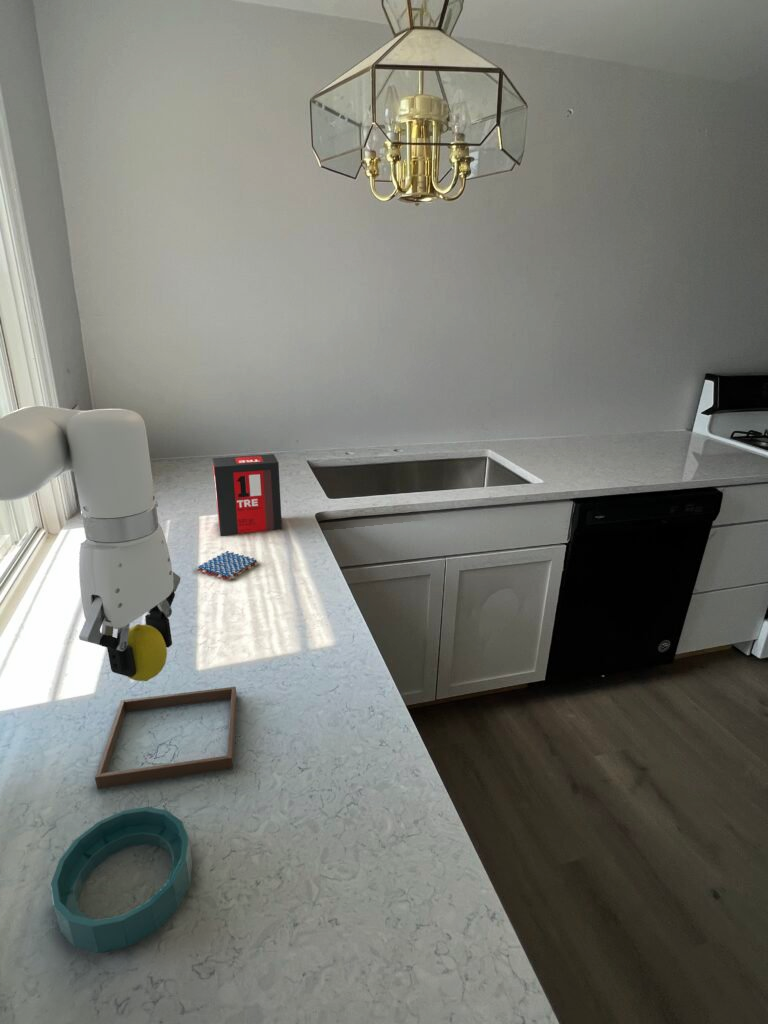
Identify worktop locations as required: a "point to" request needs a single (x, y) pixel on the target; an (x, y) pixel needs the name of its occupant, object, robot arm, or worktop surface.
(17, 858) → the worktop surface
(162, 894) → the teal ring
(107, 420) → the robot arm
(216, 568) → the woven mat
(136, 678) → the lemon
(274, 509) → the cleaning product box
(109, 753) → the brown wooden frame
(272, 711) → the worktop surface
